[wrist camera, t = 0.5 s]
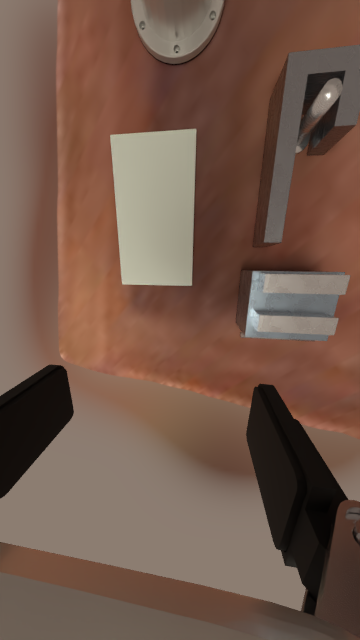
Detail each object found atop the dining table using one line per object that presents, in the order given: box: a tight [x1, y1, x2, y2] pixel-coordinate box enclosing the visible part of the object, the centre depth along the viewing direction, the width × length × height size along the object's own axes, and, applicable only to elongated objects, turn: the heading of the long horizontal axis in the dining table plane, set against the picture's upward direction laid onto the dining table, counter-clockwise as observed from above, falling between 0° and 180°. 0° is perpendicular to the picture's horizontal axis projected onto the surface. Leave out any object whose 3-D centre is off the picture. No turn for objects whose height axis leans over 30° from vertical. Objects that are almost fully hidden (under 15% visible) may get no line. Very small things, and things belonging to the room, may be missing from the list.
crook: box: [253, 45, 360, 247], centre depth 26 cm, size 20×9×6 cm, turn 179°
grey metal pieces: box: [236, 78, 350, 341], centre depth 26 cm, size 32×12×10 cm, turn 179°
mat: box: [110, 129, 196, 286], centre depth 32 cm, size 24×14×1 cm, turn 179°
